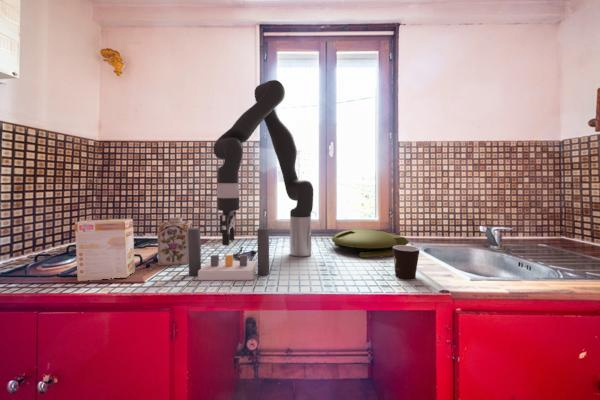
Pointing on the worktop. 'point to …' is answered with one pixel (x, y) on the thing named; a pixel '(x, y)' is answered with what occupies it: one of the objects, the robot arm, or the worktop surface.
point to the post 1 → (194, 251)
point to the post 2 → (263, 251)
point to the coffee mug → (405, 261)
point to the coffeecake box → (104, 249)
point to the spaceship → (369, 241)
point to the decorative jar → (173, 242)
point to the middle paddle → (229, 260)
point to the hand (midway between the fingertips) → (228, 242)
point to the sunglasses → (249, 254)
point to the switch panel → (228, 269)
